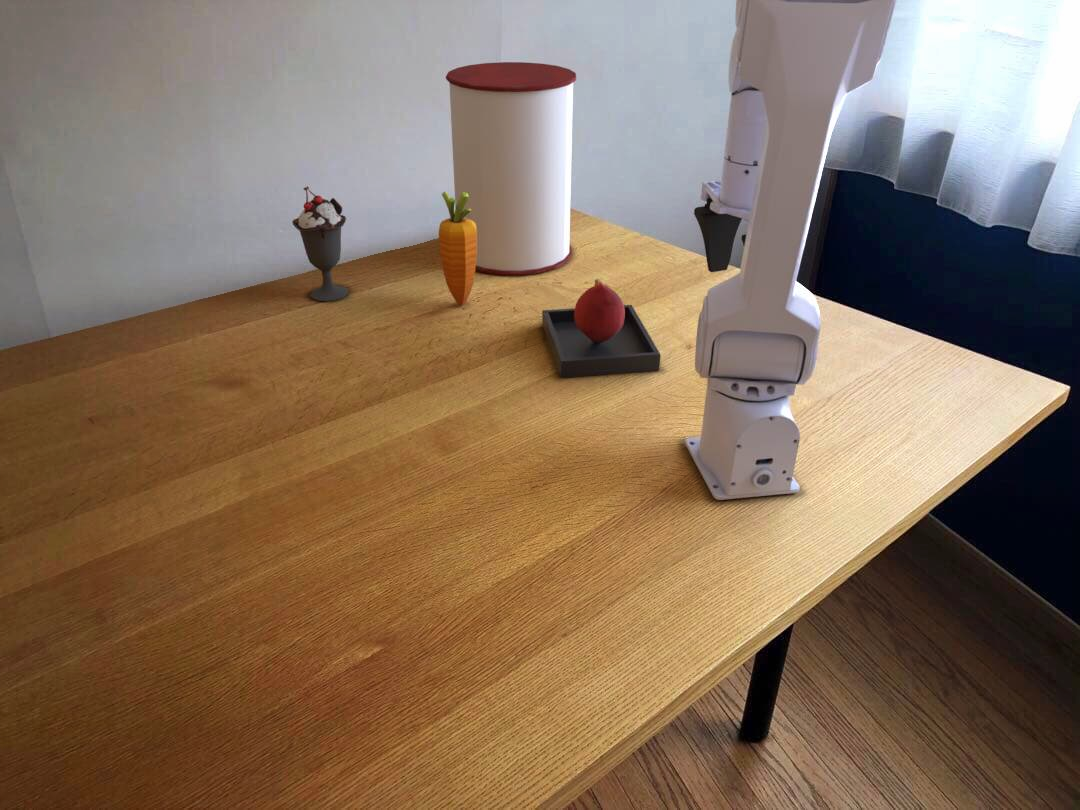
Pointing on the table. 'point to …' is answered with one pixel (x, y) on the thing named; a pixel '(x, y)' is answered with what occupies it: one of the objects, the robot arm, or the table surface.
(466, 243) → the carrot
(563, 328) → the tray
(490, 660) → the table surface
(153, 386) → the table surface
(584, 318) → the onion
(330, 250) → the sundae
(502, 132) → the container
